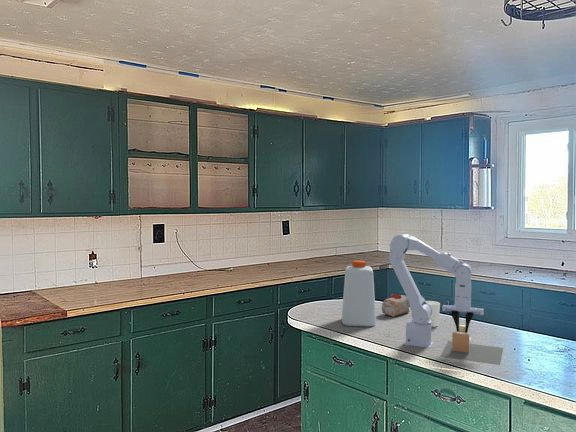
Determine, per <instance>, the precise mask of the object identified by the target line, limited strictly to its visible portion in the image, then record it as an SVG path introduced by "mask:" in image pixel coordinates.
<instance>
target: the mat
mask: <svg viewBox="0 0 576 432" xmlns="http://www.w3.org/2000/svg"><path fill="white" fill-rule="evenodd" d="M503 352H504V347H501V346H500V347H499V346H492V345H483V344H477V343H476V344H474V343H470V352H469V353H467V352H460V351H452V340H448V341H447V343H446V345H445V347H444V348H443V350H442V352H441V354H440V357H442V358H450V359H456V360H457V359H458V360H463V361H471V362H477V363H484V364H485V363H486V364H492V365H499V366H500V365H501V363H502V359H503V358H502V357H503Z"/></svg>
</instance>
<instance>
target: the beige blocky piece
mask: <svg viewBox="0 0 576 432" xmlns="http://www.w3.org/2000/svg"><path fill="white" fill-rule="evenodd" d="M465 327H466V324H459V332H462V333H465ZM471 341H472V337H471V336H470V342H471Z"/></svg>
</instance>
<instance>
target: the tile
mask: <svg viewBox="0 0 576 432" xmlns="http://www.w3.org/2000/svg"><path fill="white" fill-rule="evenodd" d="M470 335H471V333H469V332H467V333H462V332H457V331H452V335H451V336H452V338H451V341H452V351H460V352H467V353H469V352H470V344H471V341H470V337H471V336H470Z"/></svg>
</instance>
